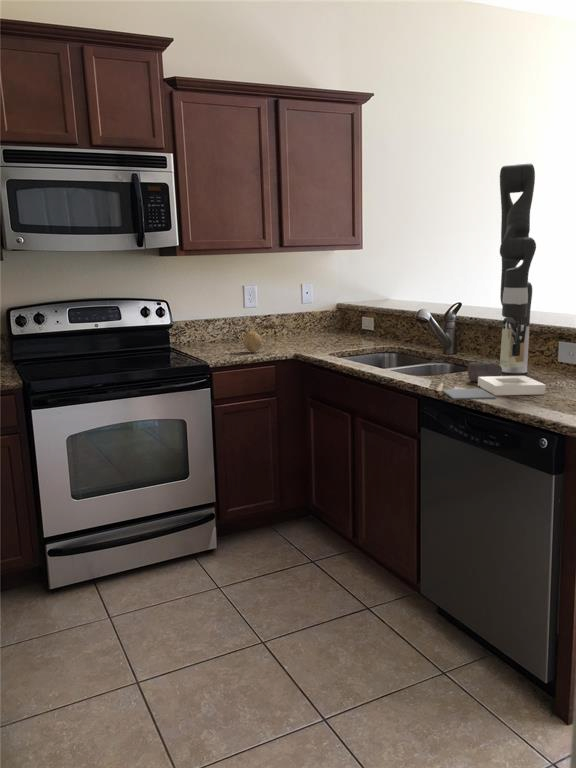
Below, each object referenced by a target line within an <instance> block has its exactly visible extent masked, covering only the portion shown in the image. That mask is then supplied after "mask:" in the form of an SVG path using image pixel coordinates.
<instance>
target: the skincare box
mask: <svg viewBox="0 0 576 768" xmlns="http://www.w3.org/2000/svg"><path fill="white" fill-rule="evenodd" d="M512 332H513V333H514V334H516V333H515V332H514V330H510V329H502V328H501V338H500V339H501V343H500V358H499V359H500V360H499V365H500V366H503V367H507V368H513V367H523V359H524V345H525V340H524V343H522V344H520V356H513V355H512V350H513V337H512ZM515 339H516V337H515ZM521 339H522V337H521Z"/></svg>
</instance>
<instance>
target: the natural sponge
mask: <svg viewBox="0 0 576 768" xmlns="http://www.w3.org/2000/svg"><path fill="white" fill-rule="evenodd" d="M242 345H243V346H244V348H245V349H246V350H247V351H248V352H250V353H252V354H253V353H257V352H258V351H259V350H261V349H262V348H263V346H264V342H263V339H262V337H261V336H260V334H259V333H258V332H256V331H253V330H250V331H248V332H247V333H245V335H244V336H243V338H242Z"/></svg>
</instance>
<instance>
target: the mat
mask: <svg viewBox="0 0 576 768" xmlns="http://www.w3.org/2000/svg"><path fill="white" fill-rule="evenodd" d="M441 392H442V393H444V394H445V395H447V396H448V397H449V398H451V399H452V400H455V401H456V400H459V401H460V400H490V399H492V400H493V399H494V400H495V399H496V395H493V394H492V393H490V392H488V391H486V390H485V389H483V388H454V389H453V388H450V389H449V388H447V389H444V388H443V389H441Z"/></svg>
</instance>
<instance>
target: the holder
mask: <svg viewBox="0 0 576 768" xmlns="http://www.w3.org/2000/svg"><path fill="white" fill-rule="evenodd" d="M477 386H478V387H479V386H480V387H479V388H480V389H483V390H484V391H486V392H488V393H490V394H491V395H493V396H519V395H520V396H521V395H527V396H528V395H530V396H531V395H546V386H547V385H546V384H544V383H542V382H540V381H538V380H536V379H534V378H531V377H528V376H526V375H501V376H488V377H478V382H477Z"/></svg>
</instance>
